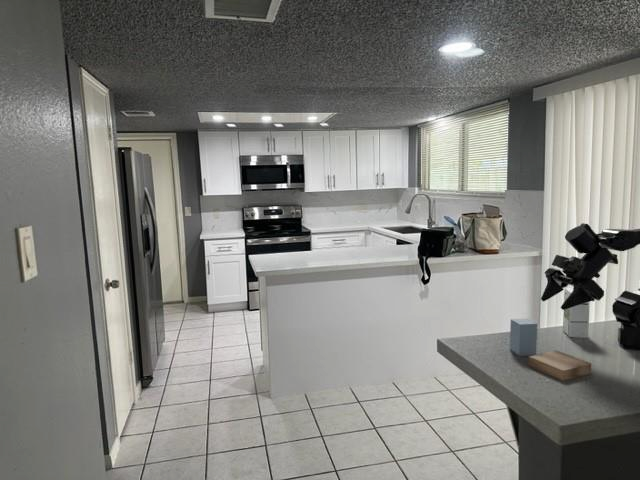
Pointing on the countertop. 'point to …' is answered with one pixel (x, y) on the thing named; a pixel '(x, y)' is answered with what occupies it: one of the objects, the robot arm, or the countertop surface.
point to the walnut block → (559, 365)
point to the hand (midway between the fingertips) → (551, 304)
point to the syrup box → (576, 318)
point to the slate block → (523, 337)
